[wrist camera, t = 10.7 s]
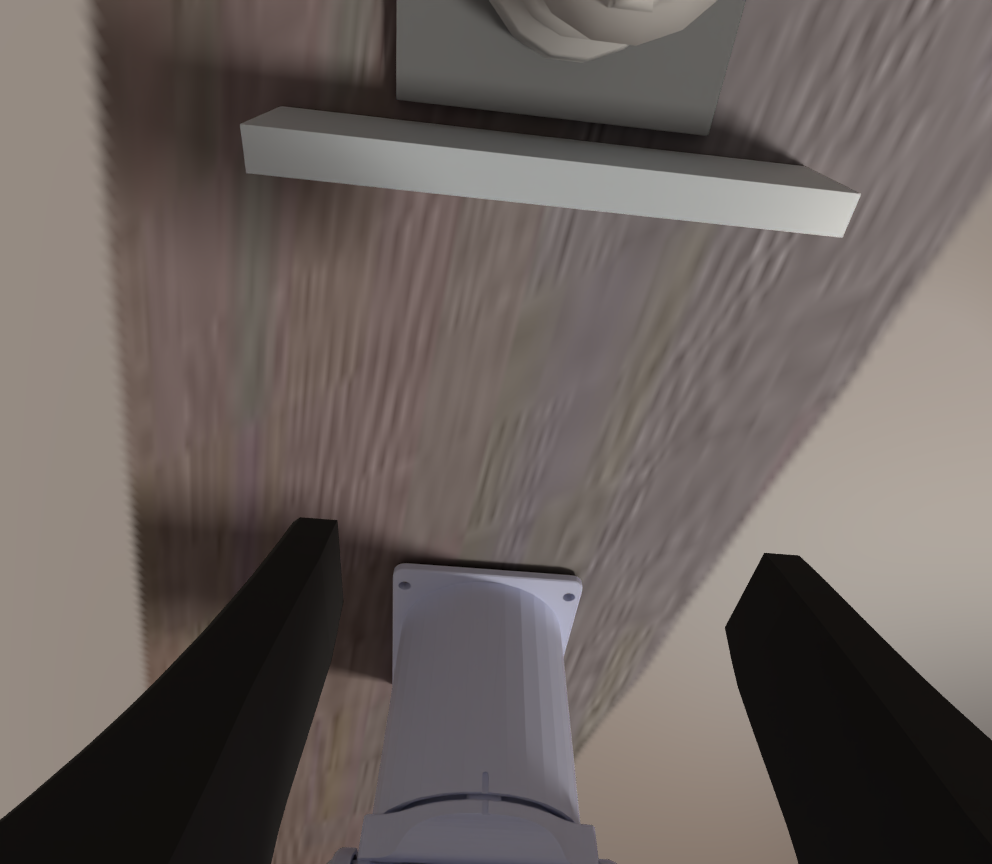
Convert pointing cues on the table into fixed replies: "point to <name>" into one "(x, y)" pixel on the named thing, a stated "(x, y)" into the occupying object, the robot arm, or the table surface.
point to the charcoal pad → (563, 69)
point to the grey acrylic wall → (544, 171)
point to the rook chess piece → (594, 24)
